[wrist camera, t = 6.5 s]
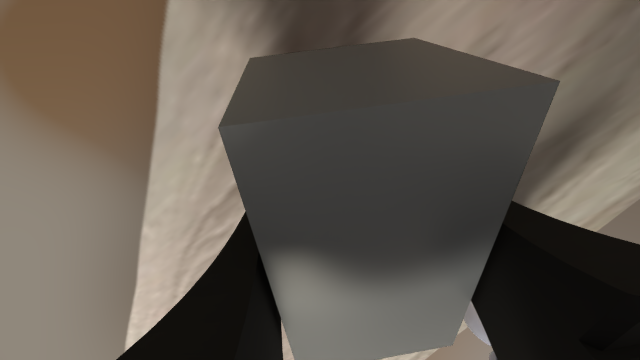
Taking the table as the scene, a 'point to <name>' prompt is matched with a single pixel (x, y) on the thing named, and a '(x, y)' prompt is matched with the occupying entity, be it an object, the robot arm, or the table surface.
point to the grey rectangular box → (378, 186)
